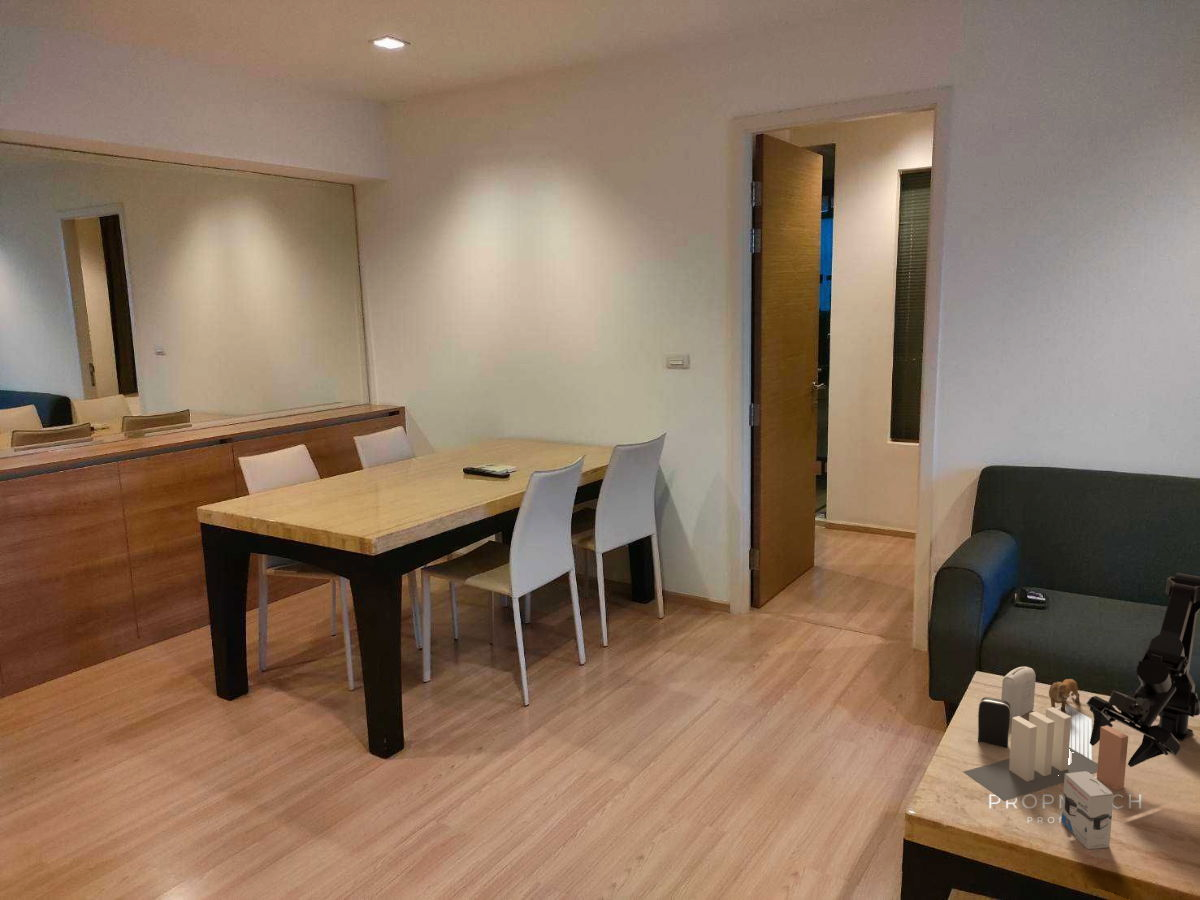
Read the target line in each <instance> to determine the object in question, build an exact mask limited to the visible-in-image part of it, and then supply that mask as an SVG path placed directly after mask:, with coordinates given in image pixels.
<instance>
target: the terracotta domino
mask: <svg viewBox="0 0 1200 900" xmlns="http://www.w3.org/2000/svg"><path fill="white" fill-rule="evenodd" d="M1128 742H1129V735H1127V734H1125V733H1123V732H1122V731H1119V730H1118V729H1116V728H1113V726H1112V727H1110V726H1108V725H1106V726H1103V727H1101V729H1100V740H1099V741H1098V743H1099V745H1098V756H1097V764H1098V767H1097V773H1096V779H1097V780H1098V781H1100V782H1102V783H1104V784H1105V785H1108V786H1109V787H1111V788H1113V789H1115V790H1116V791H1119V790H1122V789H1124V788H1125V780H1126V779H1125V777H1126V766H1127V756H1128V746H1129V743H1128Z"/></svg>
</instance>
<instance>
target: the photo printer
mask: <svg viewBox="0 0 1200 900" xmlns="http://www.w3.org/2000/svg"><path fill="white" fill-rule="evenodd" d="M1036 677H1037V675H1036V672H1035V670H1034V669H1033V668H1031V667H1028V666H1019V667H1016V668H1014V669H1012V670H1010V671H1009V672H1008V673H1007V674H1006V675H1005V676H1004V677H1003V679H1002V684H1001V688H1002V689H1001V699H1000V700H1004V701H1007V702H1008V703H1009V704H1010V709H1011V714H1010V720H1012V718H1013V717H1017V716H1020V717H1023V716H1024V715H1027V714H1029V713H1032V712H1033V711H1034V708H1035V707H1034V706H1035V694H1036Z"/></svg>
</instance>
